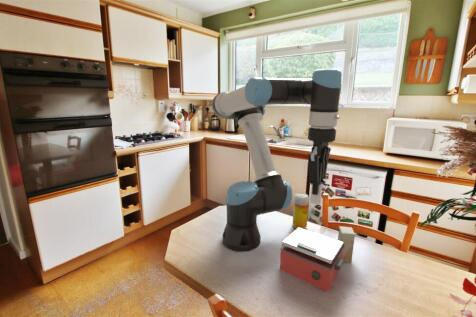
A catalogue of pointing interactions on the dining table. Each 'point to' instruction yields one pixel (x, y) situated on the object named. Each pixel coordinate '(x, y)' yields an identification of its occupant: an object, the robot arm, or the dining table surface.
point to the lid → (314, 244)
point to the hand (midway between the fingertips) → (315, 203)
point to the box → (347, 242)
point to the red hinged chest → (310, 267)
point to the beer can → (300, 210)
